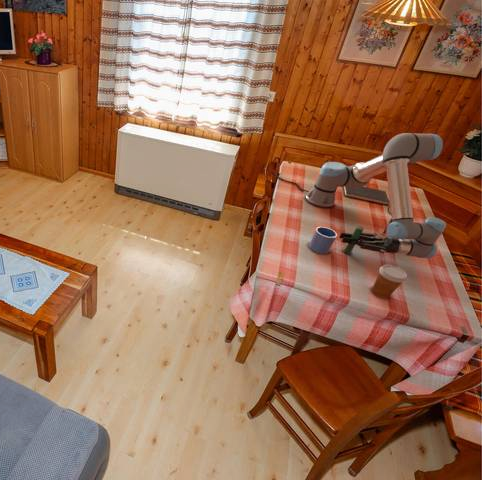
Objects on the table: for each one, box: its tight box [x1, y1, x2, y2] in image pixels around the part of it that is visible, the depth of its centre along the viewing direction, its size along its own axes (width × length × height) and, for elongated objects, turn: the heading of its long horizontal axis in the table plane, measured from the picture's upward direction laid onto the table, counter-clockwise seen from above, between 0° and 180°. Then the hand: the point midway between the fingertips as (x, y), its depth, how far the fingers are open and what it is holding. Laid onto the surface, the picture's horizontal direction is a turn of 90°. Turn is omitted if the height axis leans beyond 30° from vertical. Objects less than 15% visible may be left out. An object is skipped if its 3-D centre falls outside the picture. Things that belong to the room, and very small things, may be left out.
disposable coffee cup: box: [371, 264, 408, 299], centre depth 154 cm, size 10×10×12 cm
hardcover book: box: [342, 186, 390, 206], centre depth 231 cm, size 16×23×2 cm
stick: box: [343, 225, 365, 255], centre depth 176 cm, size 3×3×14 cm
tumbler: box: [308, 226, 338, 255], centre depth 179 cm, size 9×9×10 cm
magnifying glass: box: [382, 204, 392, 236], centre depth 189 cm, size 9×2×20 cm, turn 63°
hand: (341, 237), depth 176 cm, fingers closed on stick, 3 cm apart
